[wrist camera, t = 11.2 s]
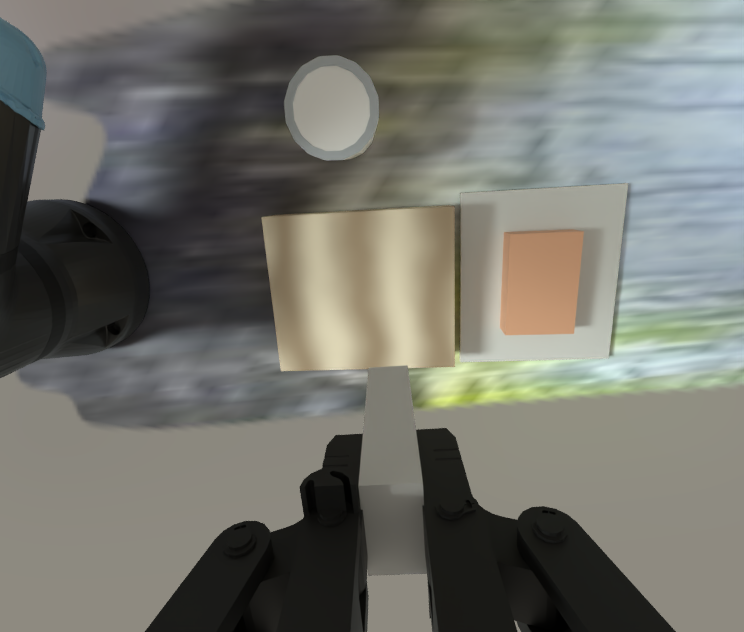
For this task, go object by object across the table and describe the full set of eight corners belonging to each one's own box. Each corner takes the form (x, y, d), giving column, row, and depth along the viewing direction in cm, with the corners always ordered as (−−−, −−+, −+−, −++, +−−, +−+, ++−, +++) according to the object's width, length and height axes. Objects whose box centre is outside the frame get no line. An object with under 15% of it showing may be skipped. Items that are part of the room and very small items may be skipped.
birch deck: (291, 355, 42) (281, 371, 38) (275, 214, 38) (261, 217, 34) (449, 350, 41) (454, 366, 37) (449, 205, 37) (454, 206, 33)
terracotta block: (574, 333, 37) (564, 326, 39) (583, 231, 34) (573, 229, 36) (505, 335, 37) (499, 327, 39) (510, 234, 35) (503, 231, 37)
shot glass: (301, 160, 37) (279, 152, 30) (309, 75, 35) (288, 46, 28) (376, 172, 37) (371, 168, 30) (389, 87, 35) (387, 62, 28)
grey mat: (459, 359, 41) (460, 362, 41) (460, 192, 37) (461, 192, 36) (605, 356, 40) (608, 358, 39) (624, 183, 36) (628, 183, 35)
